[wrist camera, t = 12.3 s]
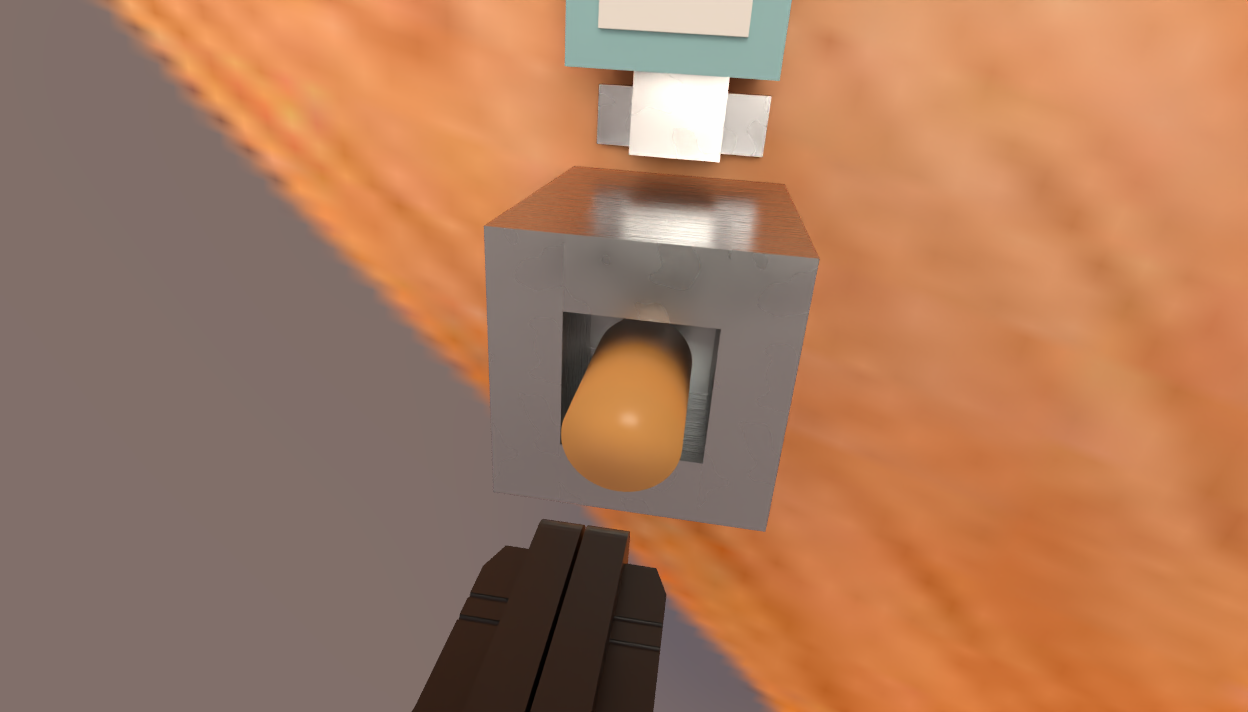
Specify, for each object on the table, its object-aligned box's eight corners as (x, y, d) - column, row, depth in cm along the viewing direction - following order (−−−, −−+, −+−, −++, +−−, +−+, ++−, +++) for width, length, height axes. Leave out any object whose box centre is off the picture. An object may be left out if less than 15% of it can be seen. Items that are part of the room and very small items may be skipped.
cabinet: (784, 184, 23) (819, 258, 14) (752, 375, 27) (765, 531, 18) (556, 164, 24) (456, 223, 15) (554, 351, 28) (470, 488, 19)
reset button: (697, 322, 17) (688, 395, 14) (687, 409, 19) (676, 499, 15) (598, 311, 18) (561, 379, 14) (594, 397, 19) (560, 483, 15)
